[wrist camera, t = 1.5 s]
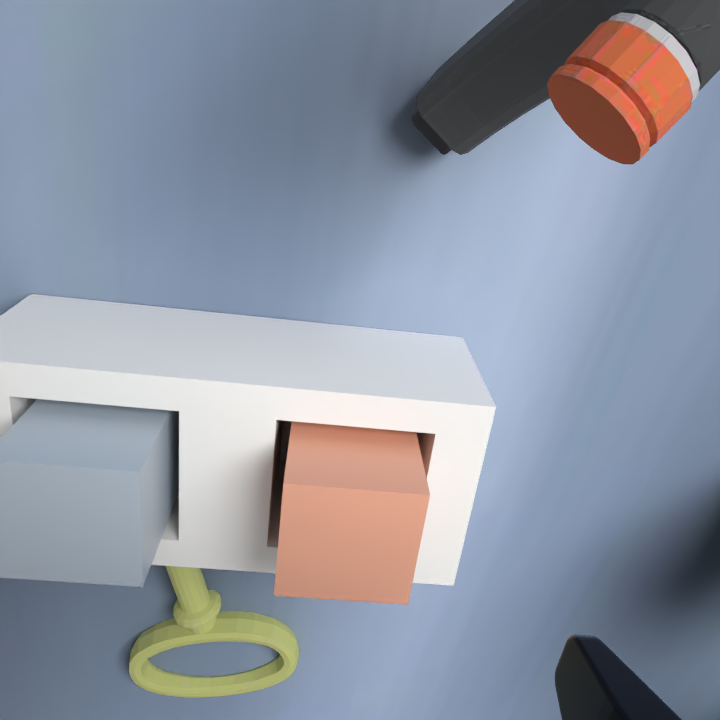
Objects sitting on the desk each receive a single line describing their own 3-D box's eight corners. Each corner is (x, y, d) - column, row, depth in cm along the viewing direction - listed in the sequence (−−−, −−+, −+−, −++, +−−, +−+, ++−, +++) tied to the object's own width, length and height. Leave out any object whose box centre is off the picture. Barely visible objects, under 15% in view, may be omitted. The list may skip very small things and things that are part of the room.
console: (431, 489, 24) (453, 585, 20) (47, 458, 23) (-24, 552, 19) (462, 337, 22) (496, 406, 17) (31, 293, 20) (-57, 356, 16)
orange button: (394, 499, 21) (407, 604, 17) (286, 490, 21) (273, 595, 17) (410, 405, 20) (430, 495, 15) (295, 394, 19) (283, 483, 15)
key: (171, 447, 24) (156, 481, 22) (316, 655, 28) (315, 698, 26) (14, 514, 25) (-14, 552, 23) (179, 704, 29) (168, 748, 28)
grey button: (182, 482, 20) (142, 587, 16) (69, 473, 20) (-1, 577, 16) (183, 384, 19) (139, 471, 15) (61, 373, 19) (-19, 459, 15)
